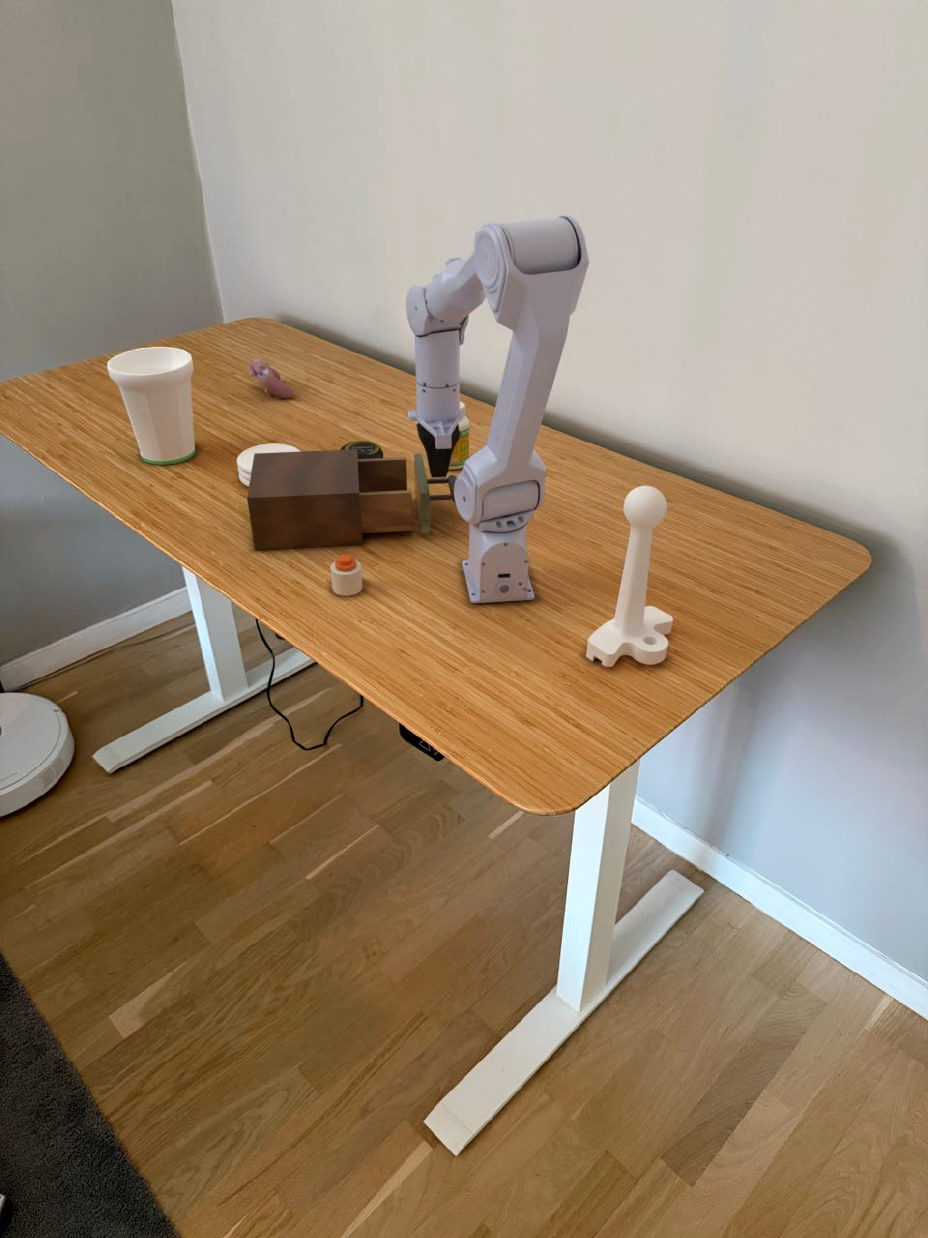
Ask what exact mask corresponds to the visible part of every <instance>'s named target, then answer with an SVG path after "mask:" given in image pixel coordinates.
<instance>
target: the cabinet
mask: <svg viewBox="0 0 928 1238" xmlns="http://www.w3.org/2000/svg"><path fill="white" fill-rule="evenodd" d="M246 499H247V507H248V513H249V519H250V527H251V534H252V540H253V547H254V551H265V550H283V549H284V550H285V549H304V548H305V549H306V548H322V547H339V546H340V547H341V546H342V547H343V546H358V545H361V546H362V545H363V533H362V526H361V511H360V496H359V478H358V460H357V449H347V450H340V449H327V450H326V449H325V450H304V451H303V450H300V452H277V453H255V454H254V459H253V465H252V471H251V478H250V484H249V487H248V491H247V497H246Z"/></svg>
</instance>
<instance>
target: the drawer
mask: <svg viewBox="0 0 928 1238" xmlns="http://www.w3.org/2000/svg"><path fill="white" fill-rule="evenodd" d="M423 457H424V456H423V453H414V454H413V474H414V475H413V476H414V478H413V479H414V495H415V501H416V502H415V503H416V507H417V513H418V520H419V526H420V532H421V534H431V502H434V501H435V502H438V501H452V502H453V503H455V504H456V502H455V497H454V485H455V482H456V479H457V477H458V476H456V475H455V474H449V475H447V476H448V477H437V478H428V476H427V471H426V466H425V462H424V461H425V460H424V458H423ZM357 460H358V478H359V496H360V511H361V526H362V534H369V533H370V534H371V533H372V534H373V533H391V532H405V531H406V532H407V531H408V532H410V531H413V506H412V505H413V504H412V503H413V501H412V500H413V499H412V498H413V497H412V490H411V489H408V476H407V475H408V473H407V471H408V470H407V458H406V456H400V457H383V458H374V459H357ZM438 484H439V485H440V484H441V485H442V484H448V488H449V494H432V495H431V493H430V488H429V485H438Z"/></svg>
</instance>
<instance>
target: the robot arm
mask: <svg viewBox="0 0 928 1238" xmlns="http://www.w3.org/2000/svg"><path fill="white" fill-rule="evenodd" d="M473 241H474V243H473V244H474V245H473V251H471V253H470V254H469V255H468V257H467V258H466V259H464V258H463V259H462V258H461V257H453V258H448V259H447V260H446V262H445V267H444V268H443V269H442V270H441V271H440V272H439V273H436V274H435V275H434V276H433V277H432V280H431V281H430V282H429V283H428V284H427V285H421V286H420V285H418V284H417V285H415V284H414V285H411V286H410V287H409V289H408V291H407V293H406V299H405V312H406V318H407V321H408V325H409V328H410V329H411V332H412V333H413V334H414V359H415V360H414V361H415V362H414V363H415V399H416V400H415V402H416V403H415V405H416V409H414V410H408V411H407V419H408V421H410V422H417V423H416V430H417V435H418V438H419V440H420V442H421V444H422V446H423V448H424V450H425V453H426V458H427V463H428V468H429V474H430V476H431V479H437V478H447V476H448V474H449V470H450V469H449V465H450V460H451V456H452V452H453V450H454V447H455V445H456V444H457V442H458V441H459V438H460V430H459V425H458V423H459V421H460V419H461V411H460V402H461V399H460V398H461V394H460V393H461V388H460V387H461V385H460V384H461V382H460V381H461V346H462V345H464V342H465V332H466V329H467V326H468V322H469V317H470V315H471V313H473V312H474V311H475V310H476V309H477V308H478V307H480V306H481V305H482V304H483V303H484V302H485V300H487V303H488V305H489V308H490V309H491V311H492V314H493V317H494V319H495V322H496V323H497V324H499V325H501V326H503V327H505V328H507V329H509V330H511V331H512V335H511V338H510V339H511V340H510V343H509V347H508V351H507V355H506V360H505V364H504V368H503V373H502V376H501V381H500V385H499V390H498V393H497V399H496V403H495V407H494V410H493V414H492V419H491V423H490V428H489V431H488V432H489V433H488V437H487V441H486V444H485V445H484V446H483V447H481V449H480V448H479V450H477V451H476V452H475V453H473V454H472V455H471V456H469V458H468V459H467V460H466V461H465V463H464V467H463V468H462V470H461V472H460V473H459V474H458V475H457V476H456V477H457V479H456V482H455V485H454V497H455V502H456V503H455V502H454V503H455V506H456V509H457V512H458V513H459V515H460V517H461V518H462V519H463V520H464V521H465V522H466V523H467V524H468V559H465V560H464V559H463V561H462V562H461V566H462V570H463V575H464V579H465V582H466V587H467V592H468V597H469V601H470V603H472V604H485V603H501V602H502V603H503V602H518V601H532V600H534V599H535V592H534V590H533V586H532V583H531V581H530V577H529V563H530V557H529V552H528V549H527V546H528V545H527V544H528V527H529V526H528V525H529V521H531V520H534V513H535V511H538V510H539V509H540V508H541V507H542V505H543V503H544V501H545V497H546V478H547V474H548V470H547V468H546V465H545V463H544V461H543V460H542V458H541V456H540V455H539V453H538V452H537V451H536V449H535V446H536V444H537V443H536V442H537V440H538V435H539V432H540V429H541V426H542V422H543V418H544V415H545V412H546V408H547V405H548V402H549V398H550V394H551V392H552V388H553V385H554V381H555V378H556V375H557V371H558V368H559V365H560V362H561V358H562V354H563V351H564V348H565V344H566V341H567V337H568V331H569V326H570V319H571V316H572V315H573V314H574V313H575V312H576V309H577V306H578V302H579V298H580V296H581V292H582V289H583V285H584V282H585V278H586V275H587V272H588V269H589V265H590V260H589V254H588V249H587V244H586V239H585V234H584V232H583V229H582V228H581V226H580V224H579V222H578V221H577V220H576V218H575V217H573V216H572V215H569V214H565V215H564V214H563V215H560V216H558V217H554V218H553V217H552V218H543V219H531V220H523V221H522V220H521V221H513V222H512V221H511V222H503V223H502V222H501V223H497V222H492V221H491V222H486V223H484V224H483V225H482V226H481V228H480V229H479V230H477V231H475V233H474V240H473Z"/></svg>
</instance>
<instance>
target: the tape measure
mask: <svg viewBox="0 0 928 1238" xmlns="http://www.w3.org/2000/svg"><path fill="white" fill-rule="evenodd" d="M347 449H357V459H374V458H384V451H383V449H382V448H381V446H379V445H378V444H377V443H376V442H374V441H373V442H372V441H368V440H357V441H350V442H347V443H345V444H344V445H342V446H341V447H340V448H339V450H347Z"/></svg>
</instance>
